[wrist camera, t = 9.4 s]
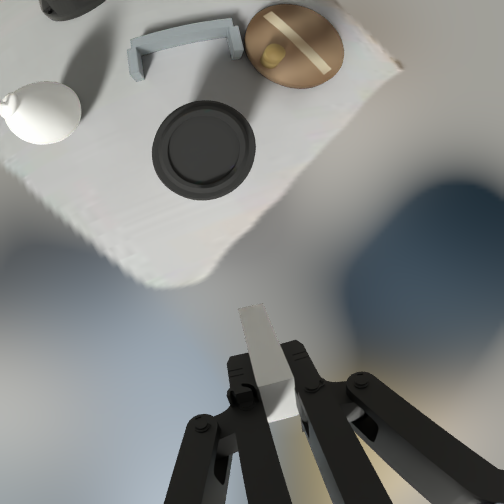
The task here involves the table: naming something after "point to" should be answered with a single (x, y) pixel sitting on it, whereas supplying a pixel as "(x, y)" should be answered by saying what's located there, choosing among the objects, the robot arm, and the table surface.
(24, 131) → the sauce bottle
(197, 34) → the pocket stop
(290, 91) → the table surface
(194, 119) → the coffee cup
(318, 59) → the disc
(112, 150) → the table surface
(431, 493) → the robot arm
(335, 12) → the table surface
